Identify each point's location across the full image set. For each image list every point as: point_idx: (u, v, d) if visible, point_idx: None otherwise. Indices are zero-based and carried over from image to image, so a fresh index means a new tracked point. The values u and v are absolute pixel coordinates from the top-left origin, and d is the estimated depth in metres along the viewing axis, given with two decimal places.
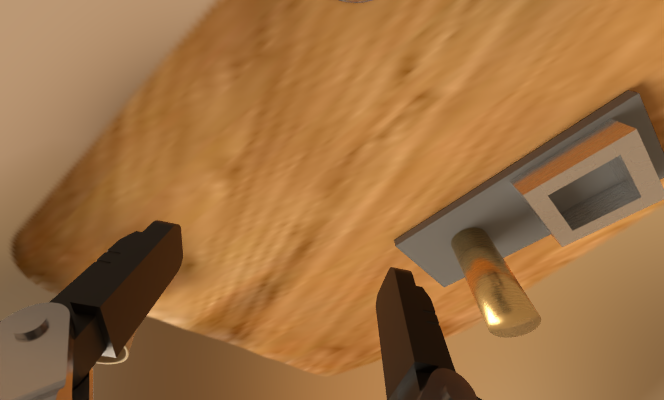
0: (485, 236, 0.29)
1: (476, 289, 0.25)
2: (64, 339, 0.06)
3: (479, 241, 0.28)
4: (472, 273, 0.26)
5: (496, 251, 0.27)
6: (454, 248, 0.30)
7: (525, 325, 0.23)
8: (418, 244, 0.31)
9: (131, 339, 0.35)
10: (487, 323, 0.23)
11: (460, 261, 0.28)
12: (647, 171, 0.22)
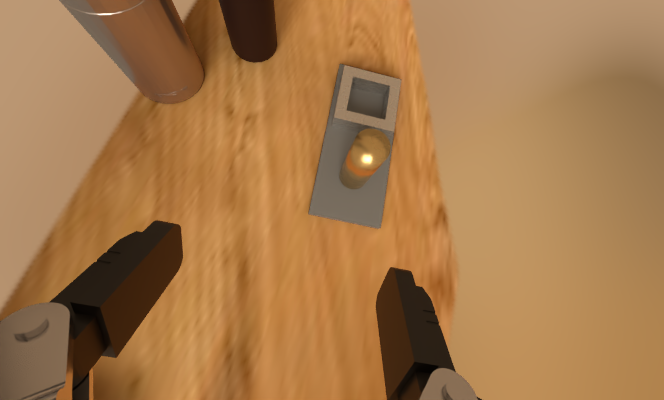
0: None
1: (350, 162, 0.31)
2: (64, 339, 0.06)
3: None
4: (346, 164, 0.33)
5: None
6: (343, 181, 0.37)
7: (380, 142, 0.29)
8: (323, 200, 0.37)
9: None
10: (359, 158, 0.28)
11: (346, 176, 0.35)
12: (375, 75, 0.40)
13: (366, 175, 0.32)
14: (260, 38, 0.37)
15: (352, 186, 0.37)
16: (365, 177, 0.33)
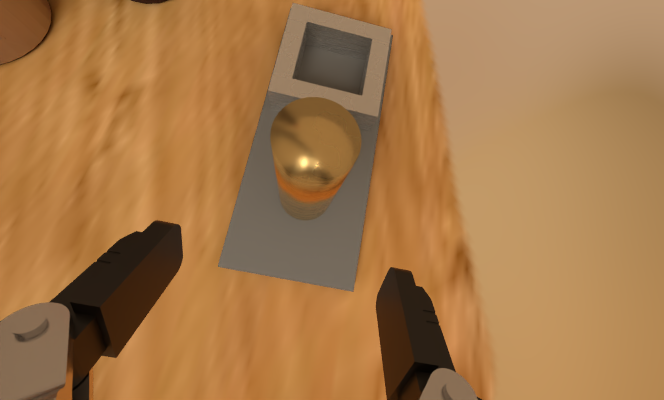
0: None
1: (277, 175, 0.14)
2: (64, 339, 0.06)
3: None
4: (276, 177, 0.16)
5: None
6: (284, 206, 0.20)
7: (337, 130, 0.12)
8: (247, 242, 0.20)
9: None
10: (282, 167, 0.12)
11: (283, 200, 0.18)
12: (345, 21, 0.23)
13: (315, 201, 0.15)
14: None
15: (300, 216, 0.20)
16: (315, 204, 0.16)
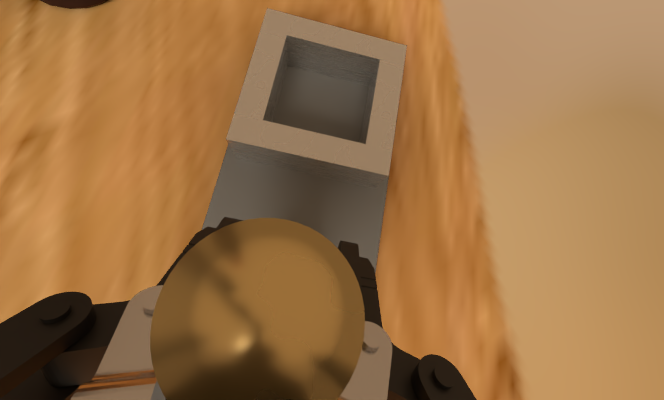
0: None
1: None
2: None
3: None
4: None
5: None
6: None
7: (312, 298, 0.05)
8: None
9: None
10: None
11: None
12: (342, 34, 0.16)
13: None
14: None
15: None
16: None
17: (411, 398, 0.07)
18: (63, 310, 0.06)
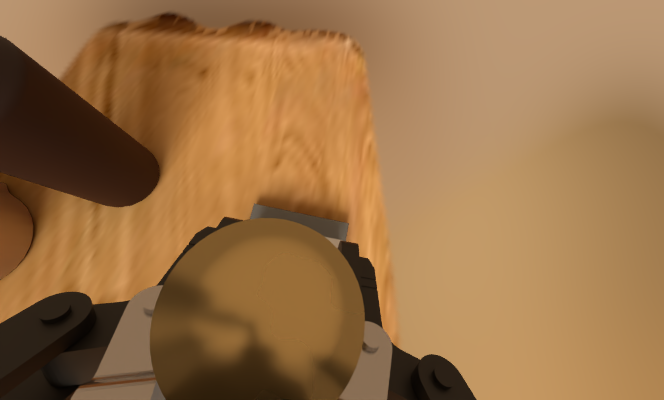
0: None
1: None
2: None
3: None
4: None
5: None
6: None
7: (311, 298, 0.05)
8: None
9: None
10: None
11: None
12: None
13: None
14: (106, 192, 0.23)
15: None
16: None
17: (411, 398, 0.07)
18: (63, 310, 0.06)
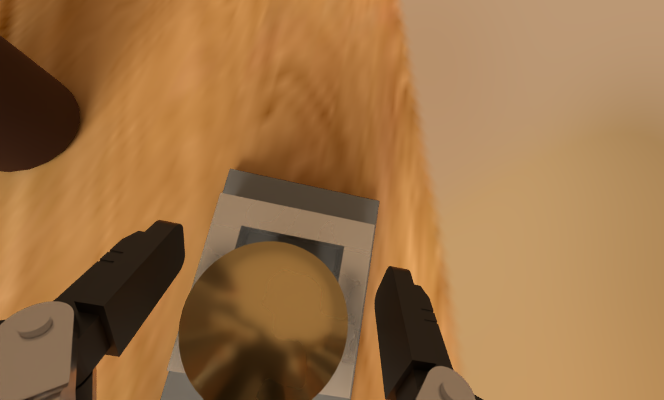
0: None
1: None
2: (69, 338, 0.06)
3: None
4: None
5: None
6: None
7: (305, 306, 0.07)
8: None
9: None
10: None
11: None
12: (303, 218, 0.15)
13: None
14: None
15: None
16: None
17: None
18: None
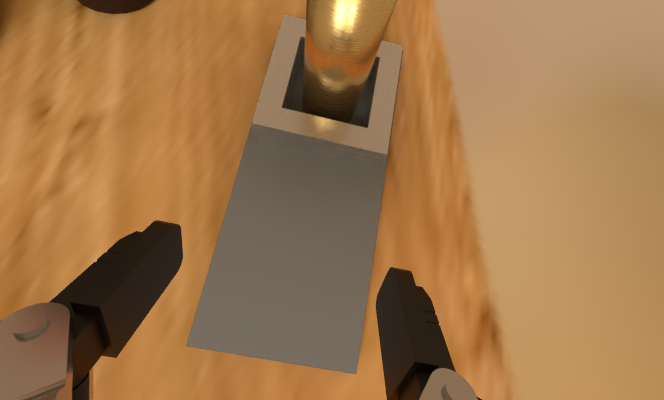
0: None
1: (309, 32, 0.13)
2: (64, 339, 0.06)
3: None
4: (305, 49, 0.15)
5: None
6: (308, 107, 0.19)
7: None
8: (224, 313, 0.16)
9: None
10: None
11: (309, 89, 0.17)
12: None
13: (348, 69, 0.14)
14: None
15: (325, 117, 0.19)
16: (346, 79, 0.15)
17: None
18: None
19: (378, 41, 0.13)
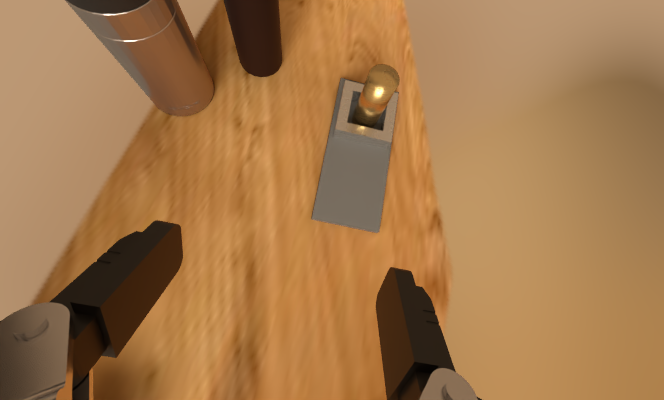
0: None
1: (364, 97, 0.37)
2: (64, 339, 0.06)
3: None
4: (360, 100, 0.38)
5: None
6: (356, 121, 0.42)
7: (391, 75, 0.34)
8: (325, 206, 0.40)
9: None
10: (373, 87, 0.34)
11: (359, 115, 0.40)
12: None
13: (377, 109, 0.38)
14: (267, 55, 0.40)
15: (364, 126, 0.42)
16: (376, 112, 0.38)
17: None
18: None
19: (389, 100, 0.37)
